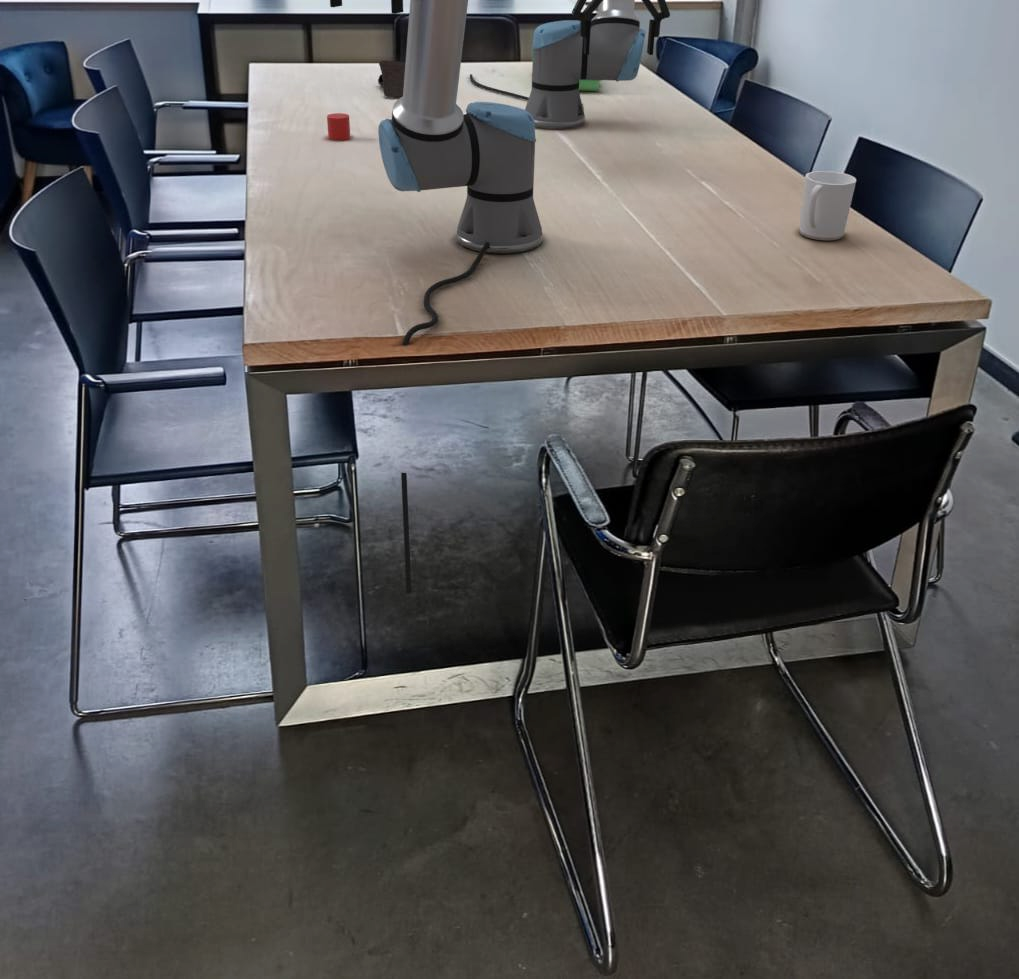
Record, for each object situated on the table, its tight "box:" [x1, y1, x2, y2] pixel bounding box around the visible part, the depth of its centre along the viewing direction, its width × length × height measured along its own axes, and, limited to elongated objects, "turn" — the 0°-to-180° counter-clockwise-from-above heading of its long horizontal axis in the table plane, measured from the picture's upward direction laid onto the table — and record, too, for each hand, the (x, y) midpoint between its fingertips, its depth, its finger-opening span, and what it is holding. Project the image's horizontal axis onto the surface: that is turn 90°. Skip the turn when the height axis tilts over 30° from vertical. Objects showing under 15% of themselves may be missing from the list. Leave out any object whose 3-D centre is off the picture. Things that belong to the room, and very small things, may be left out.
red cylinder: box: [326, 112, 351, 141], centre depth 255 cm, size 5×5×5 cm
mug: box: [798, 170, 857, 241], centre depth 199 cm, size 11×9×10 cm
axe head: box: [377, 59, 406, 99], centre depth 299 cm, size 18×8×15 cm
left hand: (366, 9), depth 200 cm, fingers open, 13 cm apart
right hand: (618, 53), depth 231 cm, fingers open, 13 cm apart
